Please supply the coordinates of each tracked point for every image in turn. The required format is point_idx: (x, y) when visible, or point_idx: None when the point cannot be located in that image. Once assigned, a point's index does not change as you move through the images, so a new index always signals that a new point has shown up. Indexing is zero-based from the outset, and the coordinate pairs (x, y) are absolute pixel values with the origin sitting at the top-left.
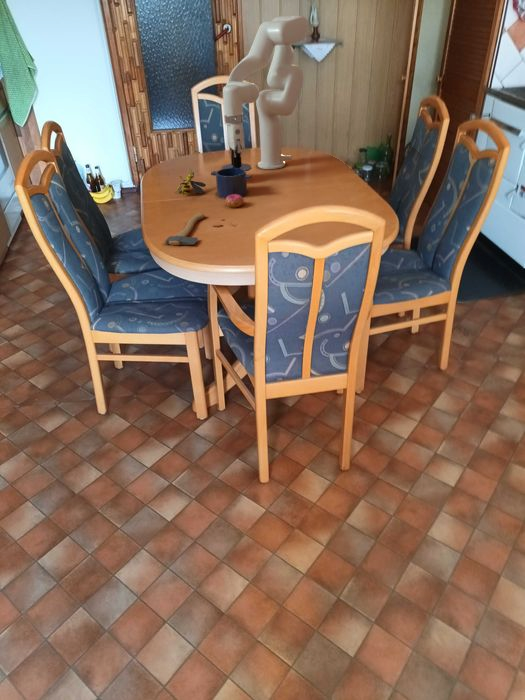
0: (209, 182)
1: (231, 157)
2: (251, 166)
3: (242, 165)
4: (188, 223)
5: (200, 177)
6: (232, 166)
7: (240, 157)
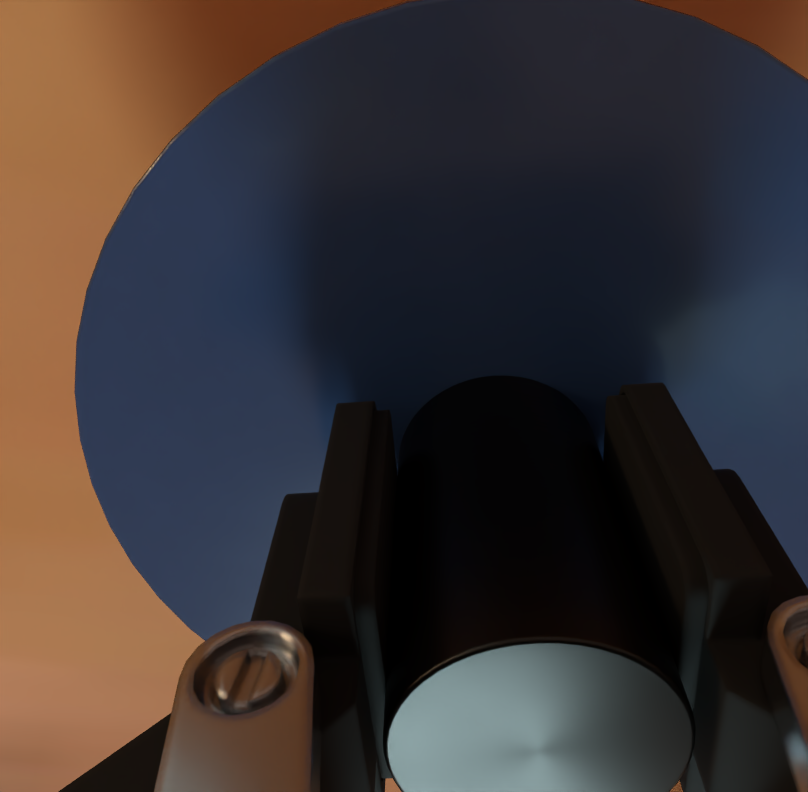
0: None
1: None
2: (618, 5)
3: (376, 280)
4: None
5: None
6: None
7: (764, 590)
